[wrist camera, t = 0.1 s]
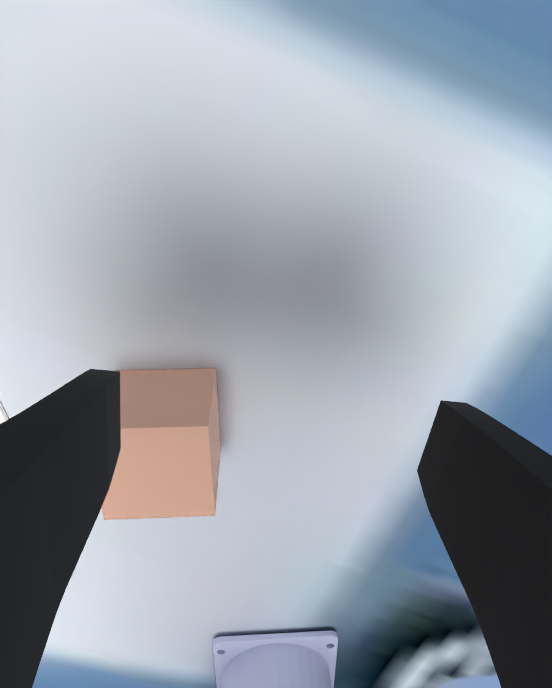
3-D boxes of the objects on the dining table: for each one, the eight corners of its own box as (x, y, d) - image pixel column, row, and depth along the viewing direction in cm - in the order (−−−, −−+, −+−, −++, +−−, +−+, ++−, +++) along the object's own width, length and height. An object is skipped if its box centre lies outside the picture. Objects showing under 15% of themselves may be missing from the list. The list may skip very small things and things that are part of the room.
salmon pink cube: (221, 445, 23) (214, 515, 19) (129, 448, 23) (104, 519, 19) (216, 367, 21) (208, 426, 17) (116, 369, 21) (84, 429, 17)
